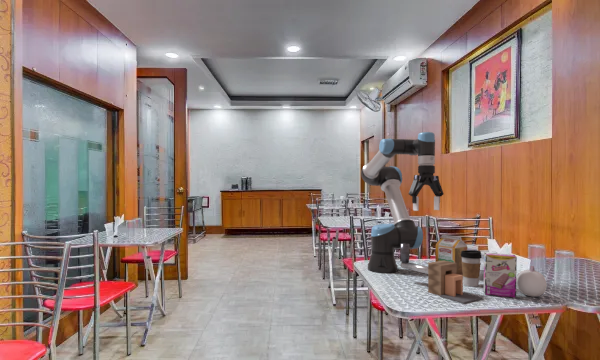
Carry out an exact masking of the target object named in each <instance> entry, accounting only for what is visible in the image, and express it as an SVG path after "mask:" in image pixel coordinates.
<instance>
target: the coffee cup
mask: <svg viewBox="0 0 600 360" xmlns="http://www.w3.org/2000/svg"><path fill="white" fill-rule="evenodd" d="M461 257H462V272H463V286H467V287H470V288H471V287H473V288H475V287H479V283H480V273H481V263H482V262H481V259H483V258H482V252H481V250H477V249H470V250H469V249H467V250H465V251H461Z"/></svg>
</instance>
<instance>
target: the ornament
mask: <svg viewBox="0 0 600 360" xmlns="http://www.w3.org/2000/svg"><path fill="white" fill-rule="evenodd" d="M547 285H548V284H547V280H546V278H545V276H544V274H543V273H540V272H539V271H537V270H536V269H535V266H534V265H531V266H530V268H529V269H524V270H522V271H520V272H518V274H517V275H516V288H517V290H518V291H519V292H521V293H522V294H523V295H525V296H528V297H532V298H533V297H534V298H535V297H540V296H542V295H544V293H545V292H546V290H547Z"/></svg>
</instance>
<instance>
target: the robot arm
mask: <svg viewBox="0 0 600 360" xmlns="http://www.w3.org/2000/svg"><path fill="white" fill-rule="evenodd" d="M378 147H379V148H378V149H379V150H378V151H377V153H376V154H375V155H374V156H373V157H372V159H371V160H370V161H369V162H368V163H365V164H364V165H363V167H362V169H361V173H360V176H361V178H362V180H363V181H364V183H366V184H367V185H369V186H377V187H378V186H379V187H380V190H381V191H382V192H384V193H385V196H386V201H387V204H388V206H389V210H390V213H391V217H392V220H393V223H381V224H375V225H373V226H372V227H371V231H370V232H371V233H370V240H371V241H370V243H371V244H370V245H371V246H370V251H371V252H370V257H369V261H368V262H367V270H369V271H371V272H375V273H382V274H383V273H385V274H386V273H387V274H389V273H390V274H391V273H392V274H393V273H396V272H398V270H399V269H398V264H397V260H396V258H395V257H396V256H395V250H400V243H408V244H409V250H414V249H419V248H420V247H421V246H422V244H423V240H424V233H423V229H422V227H420V226H419V225H417V226H416V224H415V223H416V222H415V220H412V219H411V217H410V215H409V212H408V209H407V206H406V204H405V199H404V197H403V195H402V190H401V189H400V187H401V185H402V183H403V174H402V171H401V169H400V168H399V167H397V166H392V165H390V166H386V165H387V164H388V163H389V162H390V161H391V160H392V158H394V157H395V156H396V155H409V156H417V155H418V156H417V165H418V166H417V173H418V174H415V175H413V180H412V184H411V186H410V189H409V192H408V195H409V196H410V197H412V198H411V200H412V201H411V202H412V210H413V211H414V212H415V211H416V212H417V211H419V200H420V199H419V196H418V195H419V194H420V192H421V191H422V188H423V187H424V186H429V188H430V189H431V191H432V193H433V195H434V196H433V211H440V203H441V197H443V196H444V195H445V194H444V190H443V188H442V185H441V182H440V177H439V175H434V174H435V173H436V166H435V163H436V156H435V155H436V139H435V133H434V132H431V131H426V132H425V131H424V132H419V133H418V134H417V138H416V139H412V138H411V139H406V138H405V139H404V138H390V137H389V138H383V139H381V140H380V141H379V146H378ZM419 212H420V211H419Z"/></svg>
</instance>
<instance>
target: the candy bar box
mask: <svg viewBox="0 0 600 360" xmlns="http://www.w3.org/2000/svg"><path fill="white" fill-rule="evenodd" d="M517 259H518V258H517V256H516V255H515V254H511V253H501V252H500V253H497V252H486V251H485V252H483V294H484V295H486V296H493V297H501V298H502V297H505V298H514V299H515V298H516V299H517V284H516V278H517V267H518V266H517V262H518V261H517Z"/></svg>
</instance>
